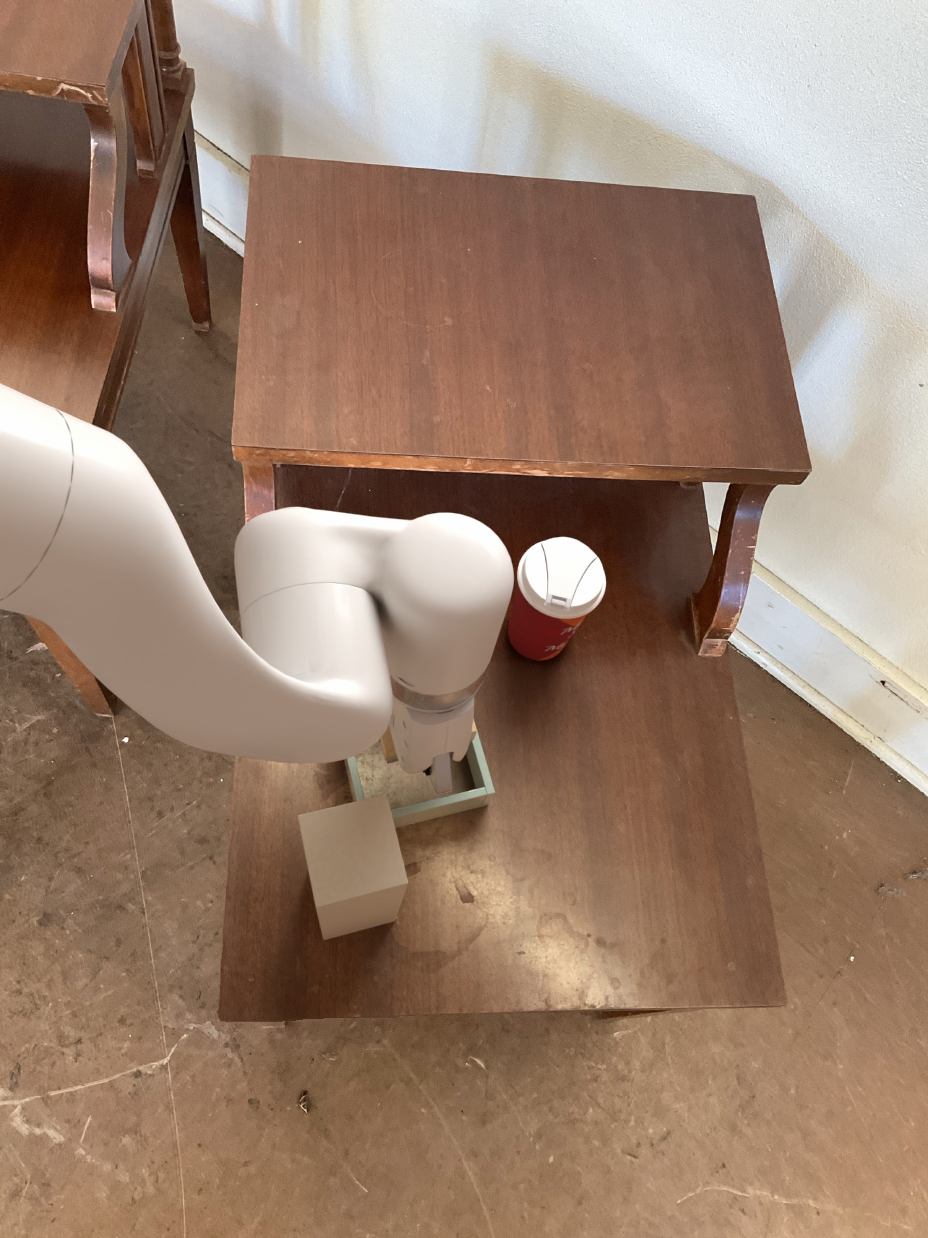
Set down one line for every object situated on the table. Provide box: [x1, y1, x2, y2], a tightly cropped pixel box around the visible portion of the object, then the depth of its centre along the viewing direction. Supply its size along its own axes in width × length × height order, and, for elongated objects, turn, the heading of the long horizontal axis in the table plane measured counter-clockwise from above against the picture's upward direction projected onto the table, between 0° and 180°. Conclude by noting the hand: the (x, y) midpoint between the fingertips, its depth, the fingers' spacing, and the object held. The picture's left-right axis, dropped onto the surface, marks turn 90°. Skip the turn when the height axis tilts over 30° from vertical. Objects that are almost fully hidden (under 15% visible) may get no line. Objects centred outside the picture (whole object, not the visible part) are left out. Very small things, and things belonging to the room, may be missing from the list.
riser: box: [297, 794, 409, 941], centre depth 68 cm, size 6×6×20 cm
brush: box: [379, 718, 478, 764], centre depth 75 cm, size 8×3×4 cm, turn 105°
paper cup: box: [507, 536, 607, 661], centre depth 83 cm, size 8×8×14 cm
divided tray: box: [343, 717, 496, 829], centre depth 82 cm, size 11×22×6 cm, turn 15°
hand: (417, 737), depth 76 cm, fingers closed on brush, 3 cm apart
